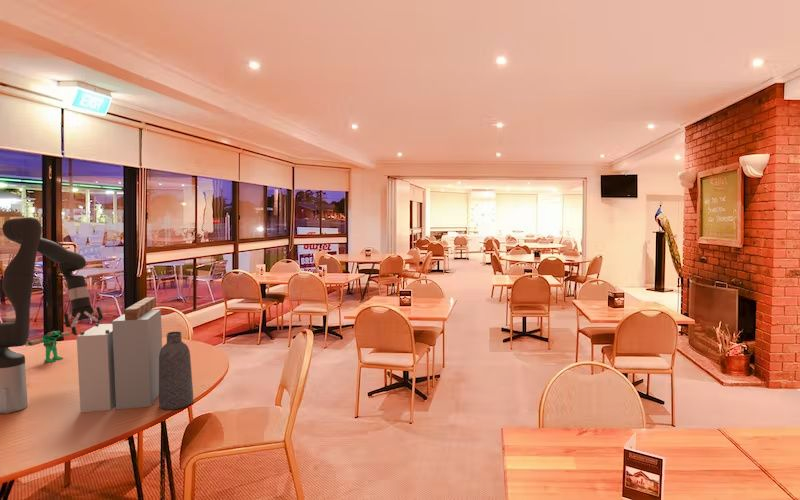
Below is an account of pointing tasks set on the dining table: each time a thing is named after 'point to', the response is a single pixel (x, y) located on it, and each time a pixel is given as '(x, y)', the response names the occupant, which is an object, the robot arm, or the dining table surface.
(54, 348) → the toy
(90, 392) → the stand
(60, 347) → the dining table surface
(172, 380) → the vase
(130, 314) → the batten
